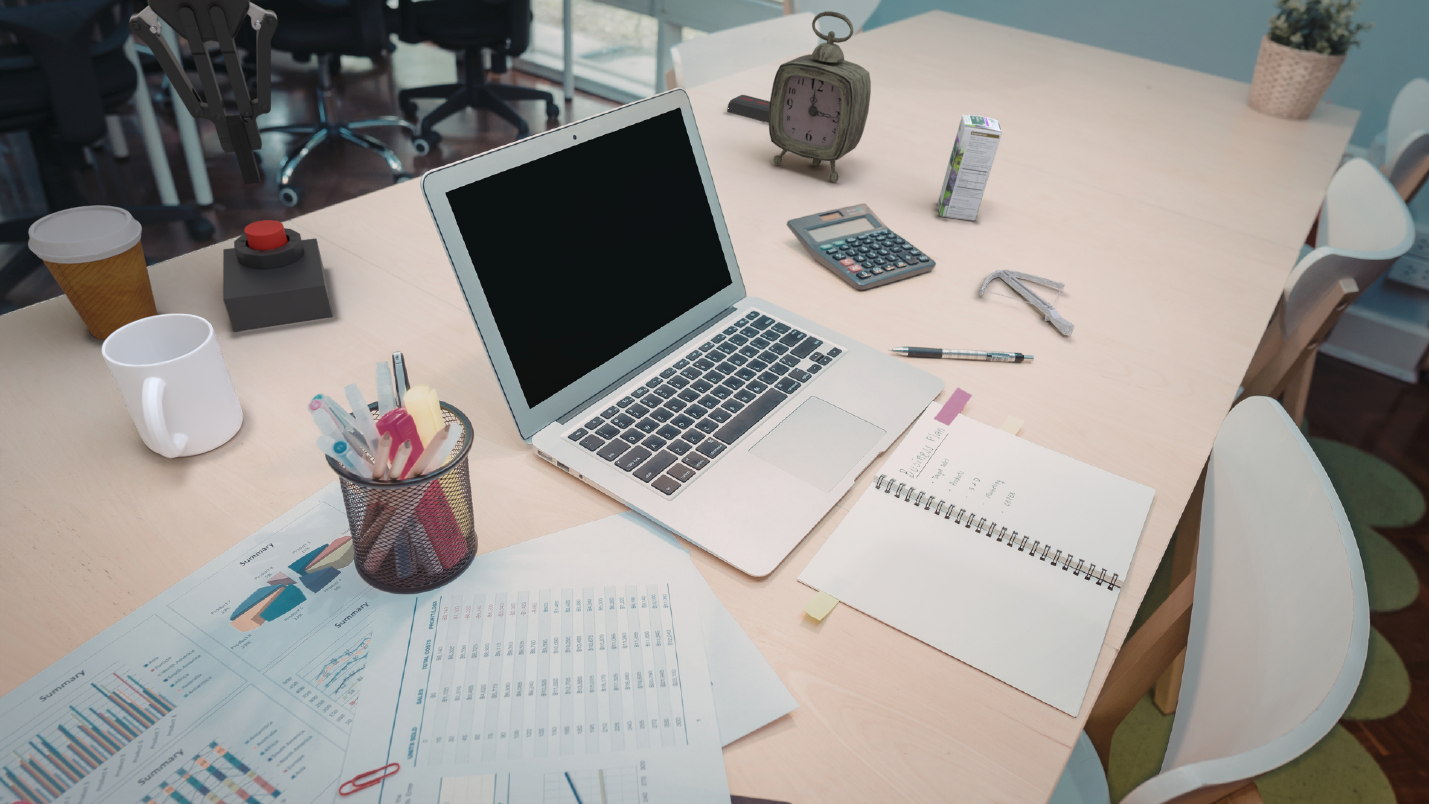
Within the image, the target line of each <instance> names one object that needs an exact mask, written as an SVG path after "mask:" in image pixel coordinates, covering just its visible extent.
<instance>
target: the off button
mask: <svg viewBox="0 0 1429 804" xmlns="http://www.w3.org/2000/svg"><path fill="white" fill-rule="evenodd" d="M284 226H285V225H284V224H283V223H282V222H281V221H279V220H273V219H264V220H257V221H254V222H251V223H249V224H248V225H246V226H245V227H244V234H246V237H247V241H248V244H249V247H250V248H251V249H254V250H270V249H276V248H278V247H281V246H284V245H285V244H286V243H288V241H287V237H286V234H285V230H284V228H285V227H284Z"/></svg>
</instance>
